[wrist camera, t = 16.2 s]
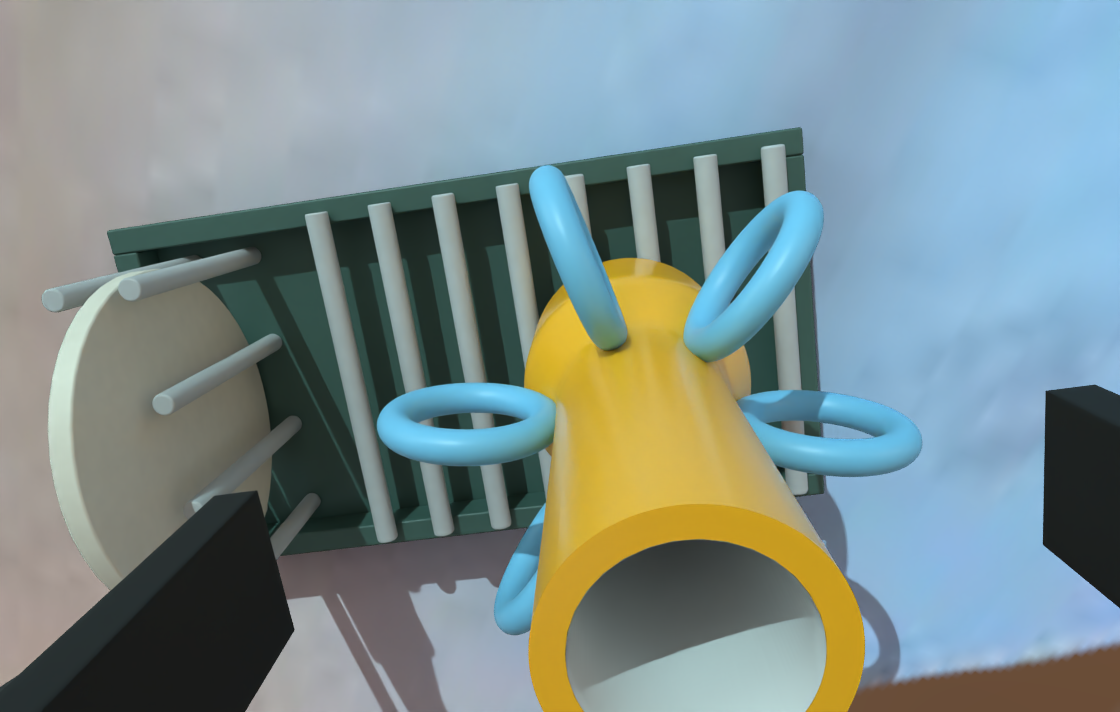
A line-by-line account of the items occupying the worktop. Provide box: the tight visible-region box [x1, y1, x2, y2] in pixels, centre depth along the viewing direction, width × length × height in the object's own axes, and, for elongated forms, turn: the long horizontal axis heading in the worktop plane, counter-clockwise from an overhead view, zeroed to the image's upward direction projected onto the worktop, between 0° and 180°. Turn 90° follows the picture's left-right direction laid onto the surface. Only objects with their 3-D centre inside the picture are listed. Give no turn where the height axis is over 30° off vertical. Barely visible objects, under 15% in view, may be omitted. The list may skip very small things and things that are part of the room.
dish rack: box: [42, 127, 824, 590], centre depth 22 cm, size 22×12×11 cm, turn 98°
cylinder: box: [377, 165, 922, 712], centre depth 16 cm, size 12×10×15 cm
